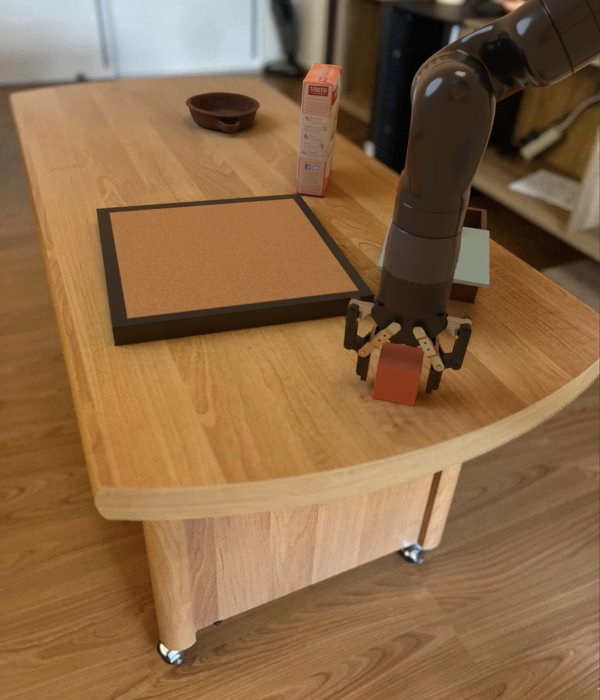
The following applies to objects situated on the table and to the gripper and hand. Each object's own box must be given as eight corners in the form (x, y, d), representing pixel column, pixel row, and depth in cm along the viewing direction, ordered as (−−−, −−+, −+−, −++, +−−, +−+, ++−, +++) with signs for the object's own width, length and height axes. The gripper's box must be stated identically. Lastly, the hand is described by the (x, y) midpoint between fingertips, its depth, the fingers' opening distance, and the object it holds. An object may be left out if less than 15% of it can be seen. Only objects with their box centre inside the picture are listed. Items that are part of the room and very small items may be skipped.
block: (417, 380, 78) (424, 348, 75) (414, 406, 74) (421, 373, 71) (377, 372, 79) (383, 340, 76) (371, 398, 75) (377, 365, 72)
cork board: (372, 311, 90) (298, 207, 116) (374, 294, 88) (299, 193, 115) (114, 345, 80) (98, 224, 107) (112, 327, 78) (96, 208, 105)
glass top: (488, 234, 93) (494, 211, 91) (488, 288, 80) (495, 263, 78) (391, 219, 95) (395, 197, 93) (376, 269, 83) (380, 245, 80)
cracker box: (325, 198, 120) (335, 83, 108) (294, 194, 121) (300, 79, 108) (334, 171, 132) (343, 64, 119) (305, 168, 132) (312, 61, 120)
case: (475, 254, 106) (486, 209, 101) (474, 303, 93) (486, 255, 88) (392, 240, 108) (399, 196, 103) (380, 287, 95) (387, 239, 90)
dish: (190, 139, 142) (189, 116, 139) (183, 109, 159) (182, 89, 156) (267, 137, 146) (267, 115, 143) (251, 109, 163) (251, 88, 160)
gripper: (345, 268, 64) (331, 391, 74) (489, 292, 62) (455, 415, 72) (357, 236, 70) (343, 354, 80) (489, 257, 68) (457, 375, 78)
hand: (396, 383), depth 76 cm, fingers open, 7 cm apart
